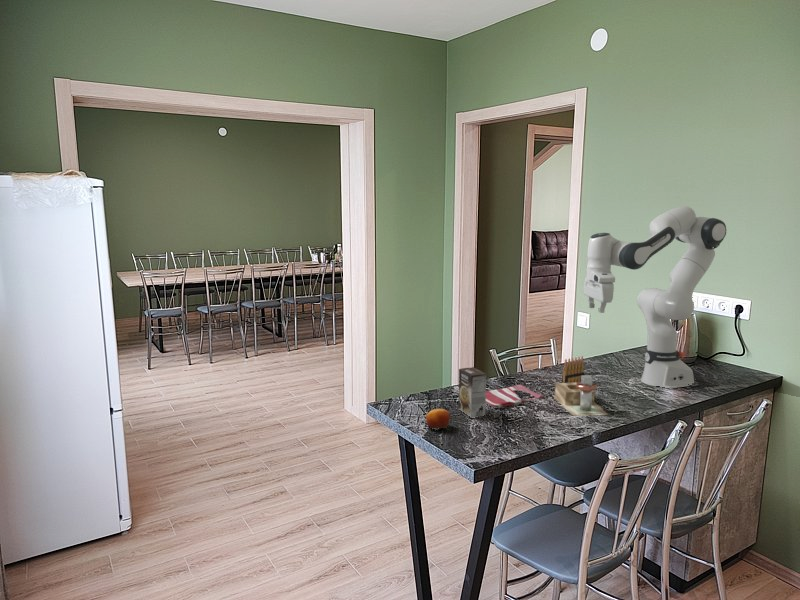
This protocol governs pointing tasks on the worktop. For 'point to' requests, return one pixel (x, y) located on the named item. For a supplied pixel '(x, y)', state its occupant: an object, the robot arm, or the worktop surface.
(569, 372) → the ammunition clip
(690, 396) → the worktop surface
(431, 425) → the fruit
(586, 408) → the handwheel peg
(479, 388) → the coffee box
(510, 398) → the dish towel
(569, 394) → the collar stand
